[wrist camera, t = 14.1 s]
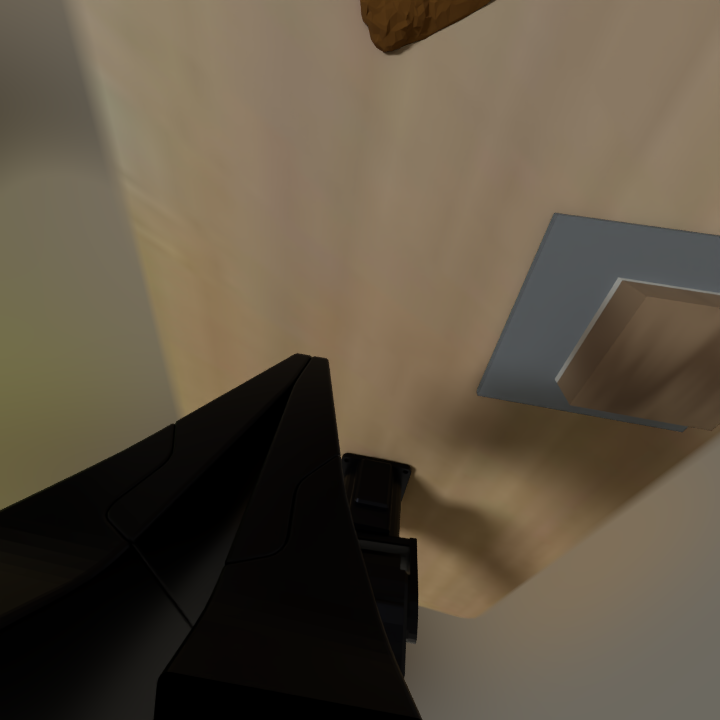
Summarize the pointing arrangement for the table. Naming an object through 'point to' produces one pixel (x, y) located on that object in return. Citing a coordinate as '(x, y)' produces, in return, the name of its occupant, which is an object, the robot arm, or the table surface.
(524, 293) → the mat
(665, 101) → the table surface
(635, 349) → the tile
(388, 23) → the primitive tool
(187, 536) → the robot arm
